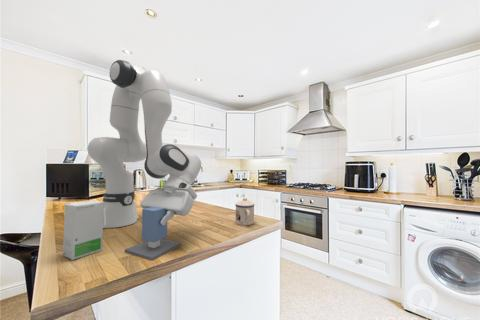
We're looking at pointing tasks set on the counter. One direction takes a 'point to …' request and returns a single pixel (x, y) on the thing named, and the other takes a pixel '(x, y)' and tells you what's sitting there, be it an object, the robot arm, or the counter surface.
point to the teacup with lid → (244, 212)
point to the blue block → (153, 224)
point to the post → (152, 248)
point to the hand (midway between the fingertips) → (153, 222)
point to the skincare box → (83, 229)
